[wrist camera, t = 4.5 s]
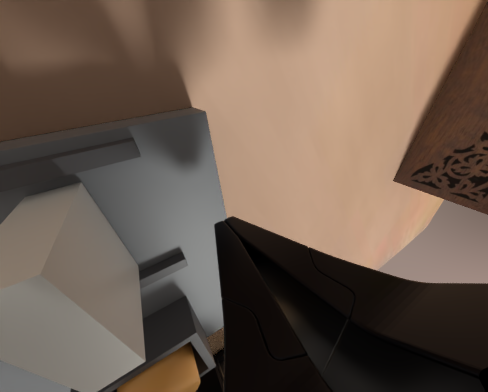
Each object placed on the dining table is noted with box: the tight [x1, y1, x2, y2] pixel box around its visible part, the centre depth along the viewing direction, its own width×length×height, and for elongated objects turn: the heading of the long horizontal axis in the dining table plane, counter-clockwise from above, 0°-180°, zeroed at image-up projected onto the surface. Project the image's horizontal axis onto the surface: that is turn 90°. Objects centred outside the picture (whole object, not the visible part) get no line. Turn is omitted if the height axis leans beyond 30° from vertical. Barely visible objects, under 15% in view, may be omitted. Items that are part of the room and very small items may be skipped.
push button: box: [117, 342, 200, 392], centre depth 12 cm, size 4×4×3 cm
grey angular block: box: [0, 182, 146, 392], centre depth 6 cm, size 5×2×4 cm, turn 8°
